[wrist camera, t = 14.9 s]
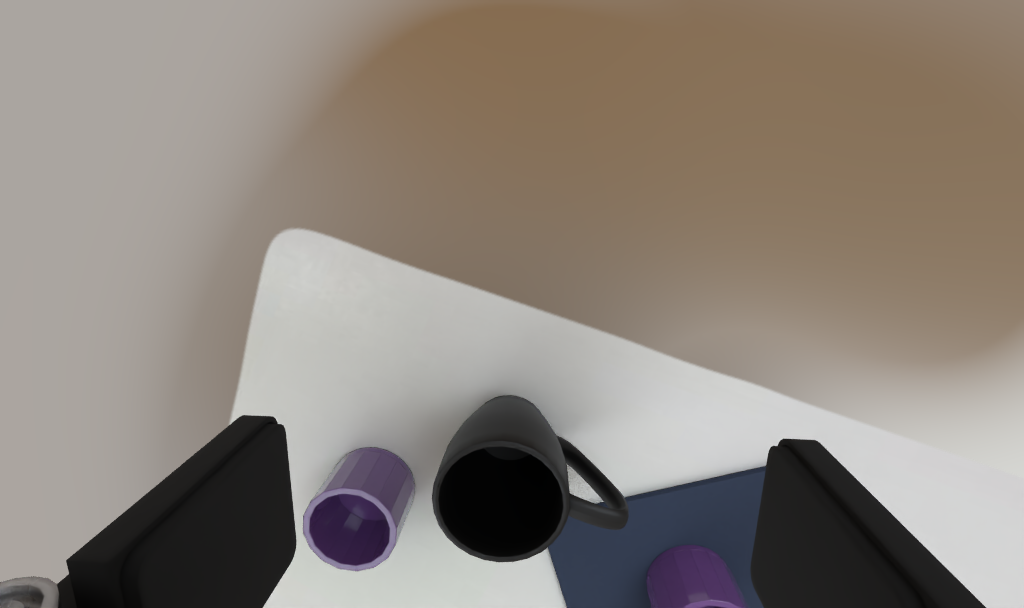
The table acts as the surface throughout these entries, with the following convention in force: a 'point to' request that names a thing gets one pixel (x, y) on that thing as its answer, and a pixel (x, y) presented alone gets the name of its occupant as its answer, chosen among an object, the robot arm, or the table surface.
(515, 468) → the mug
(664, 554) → the ramekin
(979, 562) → the table surface
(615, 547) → the placemat
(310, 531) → the ramekin
